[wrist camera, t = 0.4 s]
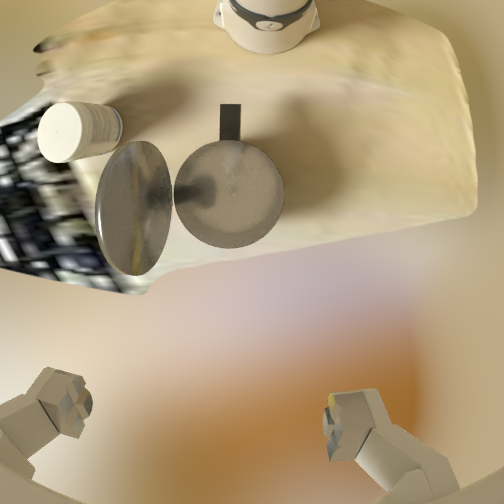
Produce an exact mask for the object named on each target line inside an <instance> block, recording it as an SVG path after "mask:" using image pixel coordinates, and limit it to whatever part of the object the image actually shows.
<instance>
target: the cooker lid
mask: <svg viewBox="0 0 504 504" xmlns="http://www.w3.org/2000/svg"><path fill="white" fill-rule="evenodd" d="M172 206H173V202H172V185H171V180H170V175H169V171H168V167H167V164H166V162H165V159H164V157H163V155H162V154H161V152H160V151H159V149H158V148H157V147H156V146H155V145H153V144H152V143H150V142H147V141H136V142H129V143H127V144H124V145H123V146H121V147H120V148H118V149H117V150H116V151H115V152H114V153H113V155H112V156H111V157H110V159H109V160H108V162H107V164H106V166H105V168H104V170H103V172H102V175H101V178H100V181H99V184H98V189H97V194H96V202H95V225H96V232H97V237H98V241H99V245H100V247H101V250H102V252H103V255H104V256H105V258H106V260H107V261H108V263H109V264H110V265H111V266H112V267H113V268H114V269H115V270H116V271H118V272H119V273H122V274H126V275H133V276H139V275H143V274H145V273H146V272H148V271H149V270H150V269H151V268H152V267H153V266H154V265H155V263H156V262H157V261H158V259H159V257H160V255H161V253H162V251H163V248H164V246H165V243H166V240H167V236H168V232H169V227H170V221H171V212H172Z"/></svg>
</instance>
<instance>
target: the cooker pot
mask: <svg viewBox="0 0 504 504" xmlns="http://www.w3.org/2000/svg"><path fill="white" fill-rule="evenodd" d="M240 130H241V104H220V141H217V142H213V143H210V144H207V145H205V146H203V147H201V148H199V149H198V150H196V151H195V152H194V153H192V154H191V155H190V156H189V157H188V158H187V159H186V161H185V162H184V163H183V165H182V166H181V168H180V170H179V172H178V174H177V177H176V180H175V185H174V203H175V208H176V211H177V214H178V216H179V218H180V220H181V222H182V223H183V225H184V226H185V228H186V229H187V230H188V231H189V232H190V233H191V234H192V235H193V236H195V237H196V238H197V239H199V240H200V241H202V242H204V243H206V244H208V245H211V246H214V247H219V248H227V249H229V248H240V247H244V246H247V245H250V244H252V243H255V242H256V241H258V240H260V239H261V238H263V237H264V236H265V235H266V234H267V233H268V232H269V231H270V230H271V229H272V228H273V227H274V225H275V224H276V222H277V220H278V219H279V217H280V214H281V212H282V208H283V203H284V186H283V181H282V178H281V175H280V173H279V171H278V169H277V167H276V166H275V164H274V163H273V161H272V160H271V159H270V158H269V157H268V156H267V155H266V154H265V153H264V152H263V151H261V150H260V149H258V148H257V147H255V146H253V145H251V144H248V143H245V142H241V141H240Z"/></svg>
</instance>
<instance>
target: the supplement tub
mask: <svg viewBox="0 0 504 504" xmlns="http://www.w3.org/2000/svg"><path fill="white" fill-rule="evenodd" d="M122 129H123V125H122V119H121V117H120V115H119V113H118V112H117V111H116V110H115V109H114V108H112V107H110V106H106V105H99V104H91V103H82V102H60V103H57V104H55V105H53V106H51V107H50V108H49V109H48V110H47V111H46V112H45V114H44V115H43V117H42V119H41V121H40V124H39V128H38V145H39V148H40V151H41V152H42V154H43V155H44V157H45V158H46V159H48V160H49V161H52V162H55V163H60V162H61V163H62V162H69V161H73V160H78V159H82V158H87V157H92V156H97V155H102V154H106V153H108V152H110V151H111V150H112V149H113V148H115V146H116V145H117V144H118V142H119V140H120V138H121V135H122Z"/></svg>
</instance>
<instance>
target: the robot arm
mask: <svg viewBox="0 0 504 504" xmlns="http://www.w3.org/2000/svg"><path fill="white" fill-rule="evenodd" d="M220 13H221V15H219V14H220ZM213 23H214V24H215V25H216V26H218V27H220V28H222V29H224V30H225V31H227V32H228V34H229V35H230V36H231V38H232V39H233V40H234V41H235V42H236V43H237V44H239V45H240V46H242V47H243V48H245V49H247V50H250V51H253V52H256V53H262V54H275V53H280V52H284V51H287V50H289V49H291V48H293V47H294V46H296V45H297V44H298V43H299V42H300V41H301V40H302V39H303V38H304V37H305V36H306V35H307V34H309V33H311V32H313V31H315V30H317V29H319V27H320V19H319V15H318V11H317V8H316V4H315V1H314V0H219V1H218V4H217V7H216V10H215V13H214V16H213ZM85 384H86V383H85V381H84V379H83V377H82V376H79V375H75V374H72V373H68V372H64V371H61V370H57V369H54V368H50V367H46V368H44V369H43V370H42V372H41V373H40V375H39V376H38V377H37V379H36V380H35V381H34V383H33V384H32V386H31V387H30V389H29V390H28V391H27V393H26V394H25V395H23V394H21V395H19V396H17V397H15V398H13V399H11V400H9V401H7V402H5V403H3V404H2V405H0V504H86V503H83V502H81V501H78V500H75V499H73V498H70V497H68V496H65V495H63V494H61V493H58V492H56V491H54V490H51V489H49V488H47V487H45V486H43V485H41V484H39V483H37V482H35V481H33V480H31V479H32V477H33V475H34V472H35V468H34V467H33V465H31V463H30V462H29V461H28V460H27V459H28V458H29V457H30V456H32V455H33V454H34V453H35V452H37V451H38V450H40V449H41V448H42V447H44V446H45V445H46V444H47V443H49V442H50V441H52V440H53V439H54V438H56V437H57V436H58V435H59V433H61V434H64V435H67V436H71V437H74V438H77V439H78V438H79V437H80V435H81V432H82V430H83V428H84V426H85V425H84V419H86V418H87V417H89V416H90V413H91V411H92V405H93V401H92V396H91V394H90V392H89V391H88V390H87V389H86V388H85V387H84V386H85ZM327 401H328V407H327V408H326V409H325V410H324V415H323V431H324V435H325V436H326V437H327V438H328V439H329V440H328V443H327V451H328V456H329V461H330V462H334V461H344V460H352V459H355V461H356V462H357V463H358V464H359V465H360V466H361V467H362V468H363V469H364V470H365V471H366V472H367V473H368V474H369V475H370V476H371V477H372V478H373V479H374V480H375V481H376V482H377V483H378V484H379V485H380V486H381V487H382V488H383V489H384V490H386V491H387V492H388V493H387V495H386V496H385V497H384V498H383V499H382V500H381V501H380V502H379V503H378V504H504V467H502V468H501V469H499V470H497V471H495V472H493V473H492V474H490V475H488V476H486V477H485V478H482V479H480V480H478V481H476V482H474V483H472V484H470V485H468V486H466V487H464V488H462V489H460V487H459V484H458V482H457V480H456V477H455V475H454V473H453V471H452V468H451V466H450V464H449V461H448V459H447V458H446V457H444V456H443V455H441V454H439V453H438V452H437V451H435V450H434V449H432V448H430V447H429V446H427V445H425V444H424V443H423V442H421V441H420V440H419V439H417V438H416V437H414V436H413V435H411V434H410V433H408V432H406V431H405V430H404V429H402V428H401V427H399V426H398V425H397V424H394V425H392V424H391V421H390V418H389V416H388V414H387V411H386V409H385V406H384V404H383V402H382V399H381V397H380V395H379V392H378V390H377V389H376V388H372V389H364V390H353V391H344V392H334V393H330V395H329V397H328V400H327Z"/></svg>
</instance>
